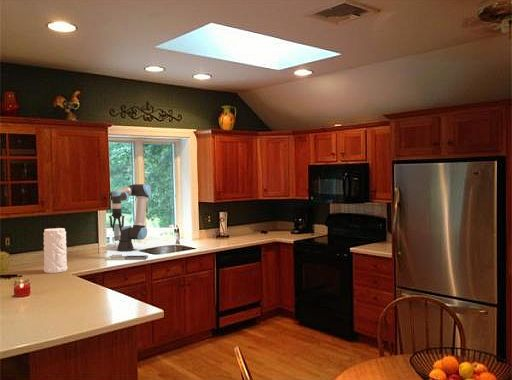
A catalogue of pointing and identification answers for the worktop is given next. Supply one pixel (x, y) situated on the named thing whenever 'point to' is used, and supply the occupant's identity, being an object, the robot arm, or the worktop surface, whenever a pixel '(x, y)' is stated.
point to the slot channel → (136, 257)
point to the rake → (116, 232)
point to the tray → (114, 258)
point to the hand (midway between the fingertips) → (117, 235)
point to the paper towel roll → (55, 250)
